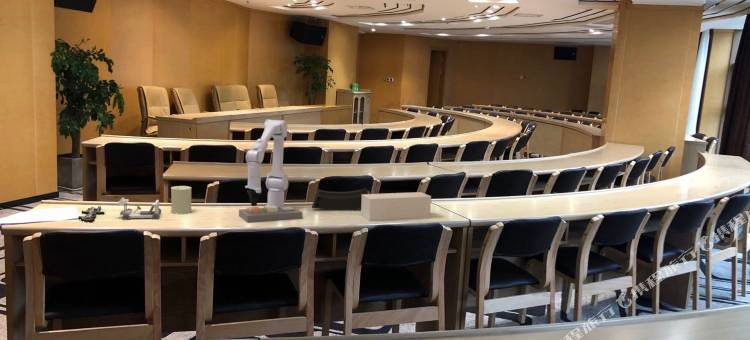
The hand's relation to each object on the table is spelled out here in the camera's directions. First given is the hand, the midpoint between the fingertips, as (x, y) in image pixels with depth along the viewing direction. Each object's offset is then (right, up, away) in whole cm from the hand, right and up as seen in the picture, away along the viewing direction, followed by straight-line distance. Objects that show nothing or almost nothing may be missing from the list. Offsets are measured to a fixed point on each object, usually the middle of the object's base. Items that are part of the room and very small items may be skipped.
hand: (253, 205), depth 277 cm
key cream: (+7, -4, +4) cm, 9 cm away
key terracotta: (0, -4, +1) cm, 4 cm away
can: (-36, -4, +8) cm, 37 cm away
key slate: (+14, -5, +8) cm, 17 cm away
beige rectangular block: (+65, -7, +17) cm, 68 cm away
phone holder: (-51, -5, -5) cm, 51 cm away
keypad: (+7, -6, +5) cm, 10 cm away
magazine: (+39, -4, +26) cm, 47 cm away
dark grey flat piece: (-71, -5, -6) cm, 72 cm away
